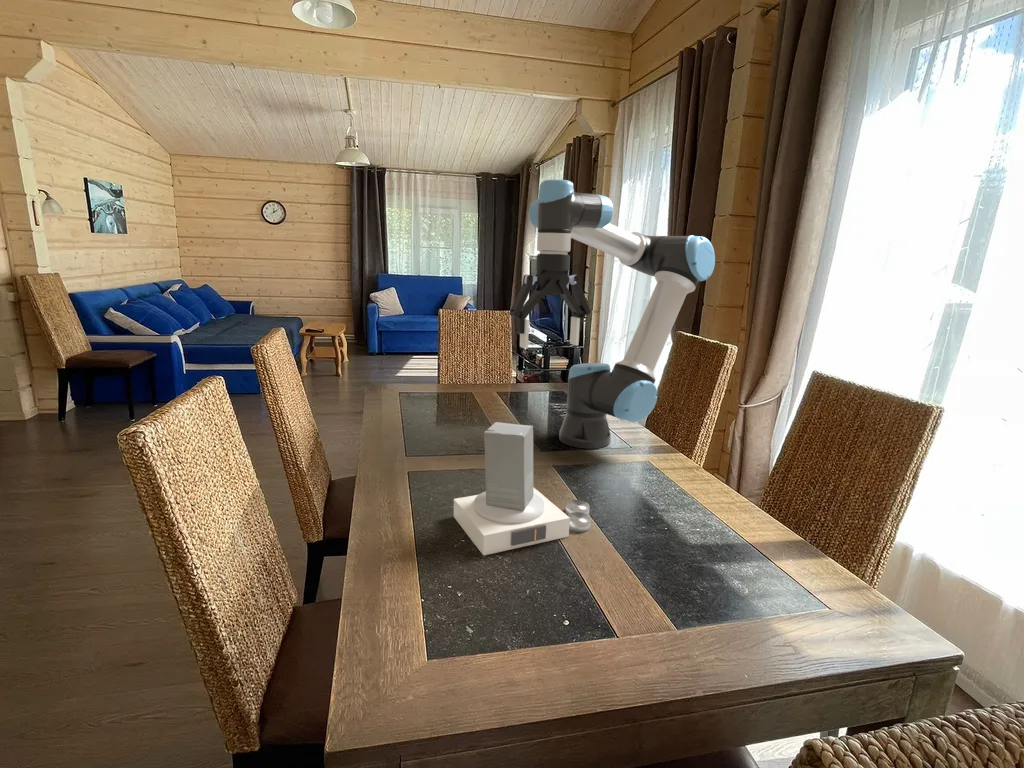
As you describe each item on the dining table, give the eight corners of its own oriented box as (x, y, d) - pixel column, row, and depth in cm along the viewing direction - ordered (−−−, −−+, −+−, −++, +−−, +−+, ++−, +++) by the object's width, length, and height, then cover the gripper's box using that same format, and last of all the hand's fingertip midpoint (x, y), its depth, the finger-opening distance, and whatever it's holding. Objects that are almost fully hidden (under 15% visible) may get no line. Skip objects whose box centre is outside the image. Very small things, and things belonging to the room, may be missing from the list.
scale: (530, 502, 120) (531, 481, 119) (570, 538, 106) (571, 514, 105) (453, 516, 113) (453, 494, 111) (484, 557, 98) (485, 532, 97)
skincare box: (533, 499, 111) (537, 424, 107) (522, 514, 104) (526, 435, 100) (494, 491, 113) (496, 419, 110) (481, 506, 107) (483, 429, 103)
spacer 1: (580, 506, 120) (581, 498, 119) (593, 516, 115) (594, 508, 115) (561, 510, 117) (561, 502, 117) (573, 521, 113) (574, 512, 113)
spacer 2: (581, 519, 114) (582, 510, 113) (595, 530, 110) (595, 521, 109) (560, 523, 112) (561, 514, 111) (574, 535, 107) (574, 525, 107)
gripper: (590, 253, 131) (585, 340, 137) (496, 251, 121) (494, 346, 126) (608, 254, 125) (602, 345, 130) (511, 252, 114) (508, 352, 119)
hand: (549, 346), depth 128 cm, fingers open, 13 cm apart
